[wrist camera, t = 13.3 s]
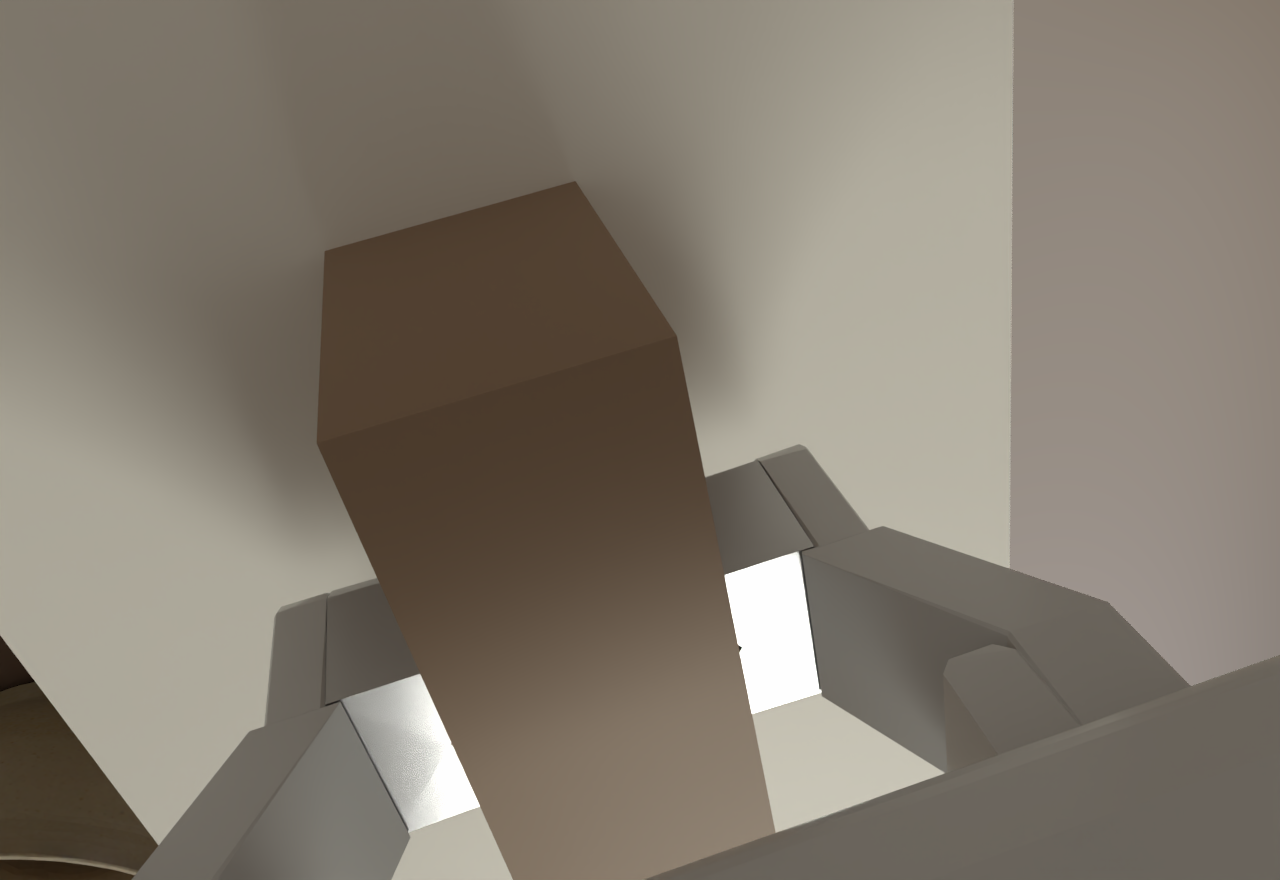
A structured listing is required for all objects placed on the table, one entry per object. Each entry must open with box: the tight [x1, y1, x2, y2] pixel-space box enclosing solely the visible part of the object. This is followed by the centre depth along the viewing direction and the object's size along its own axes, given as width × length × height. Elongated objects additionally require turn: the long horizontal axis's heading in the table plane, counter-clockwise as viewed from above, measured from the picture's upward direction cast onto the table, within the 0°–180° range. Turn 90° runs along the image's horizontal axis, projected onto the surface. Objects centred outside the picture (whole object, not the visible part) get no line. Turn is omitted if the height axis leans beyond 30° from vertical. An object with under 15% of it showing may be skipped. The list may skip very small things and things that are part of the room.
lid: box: [0, 0, 1014, 880], centre depth 10 cm, size 15×11×4 cm
